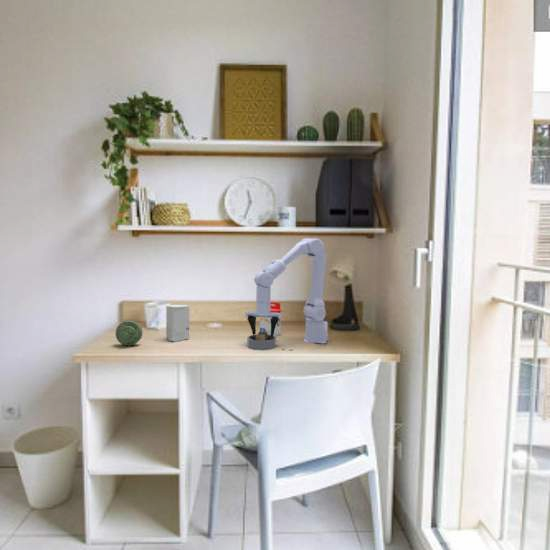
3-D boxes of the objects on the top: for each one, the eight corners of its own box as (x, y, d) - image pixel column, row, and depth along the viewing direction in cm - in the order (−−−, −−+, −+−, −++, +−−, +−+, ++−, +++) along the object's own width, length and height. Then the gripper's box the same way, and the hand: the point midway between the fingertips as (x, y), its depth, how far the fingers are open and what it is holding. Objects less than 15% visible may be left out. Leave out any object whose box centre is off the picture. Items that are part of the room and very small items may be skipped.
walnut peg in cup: (265, 346, 166) (265, 334, 165) (263, 348, 162) (263, 336, 162) (257, 345, 167) (257, 333, 166) (254, 348, 163) (254, 335, 163)
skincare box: (172, 342, 173) (172, 307, 172) (165, 339, 177) (165, 305, 176) (190, 339, 179) (189, 305, 177) (182, 336, 183) (182, 303, 182)
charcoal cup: (278, 344, 171) (278, 335, 171) (272, 351, 160) (272, 341, 160) (252, 342, 173) (252, 333, 173) (244, 349, 162) (244, 339, 162)
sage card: (296, 350, 163) (296, 348, 163) (294, 353, 158) (294, 352, 158) (279, 348, 165) (279, 347, 165) (276, 352, 160) (276, 350, 160)
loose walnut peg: (268, 343, 170) (268, 331, 170) (266, 346, 167) (266, 333, 166) (259, 343, 171) (259, 331, 171) (257, 345, 168) (257, 333, 167)
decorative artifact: (142, 344, 169) (142, 320, 168) (137, 348, 162) (137, 323, 161) (117, 344, 169) (117, 320, 168) (111, 348, 162) (111, 323, 161)
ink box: (259, 334, 189) (259, 302, 188) (264, 332, 194) (264, 301, 192) (275, 336, 185) (276, 304, 184) (280, 334, 190) (281, 302, 188)
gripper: (243, 302, 165) (243, 335, 166) (278, 304, 162) (278, 338, 163) (248, 299, 172) (248, 332, 173) (282, 301, 169) (282, 334, 170)
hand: (263, 334), depth 168 cm, fingers open, 7 cm apart
